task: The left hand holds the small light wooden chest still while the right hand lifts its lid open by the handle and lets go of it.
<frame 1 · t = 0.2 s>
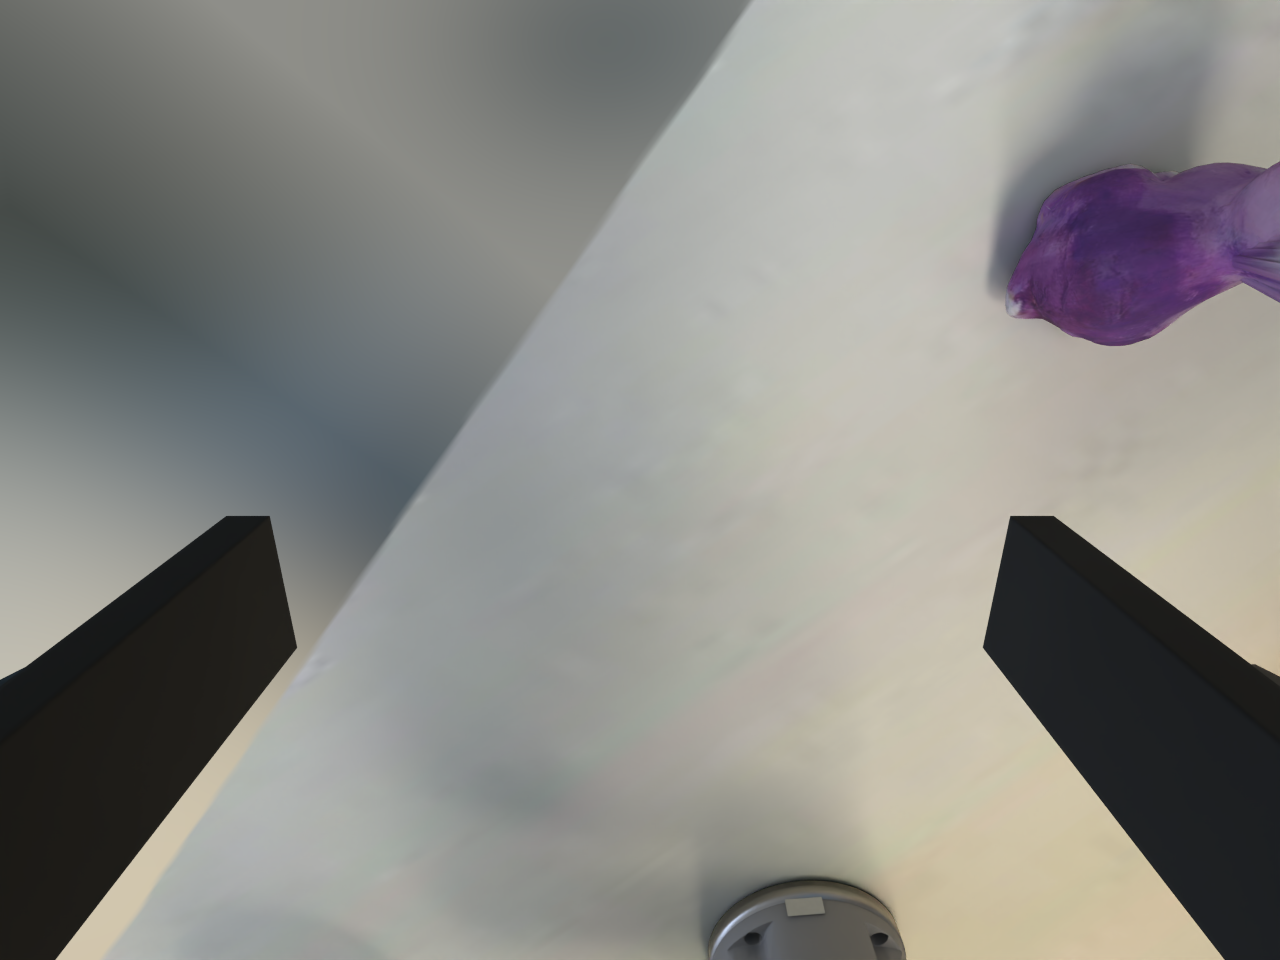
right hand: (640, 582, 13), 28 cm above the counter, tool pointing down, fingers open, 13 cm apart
figurine: (1101, 236, 37), on the counter
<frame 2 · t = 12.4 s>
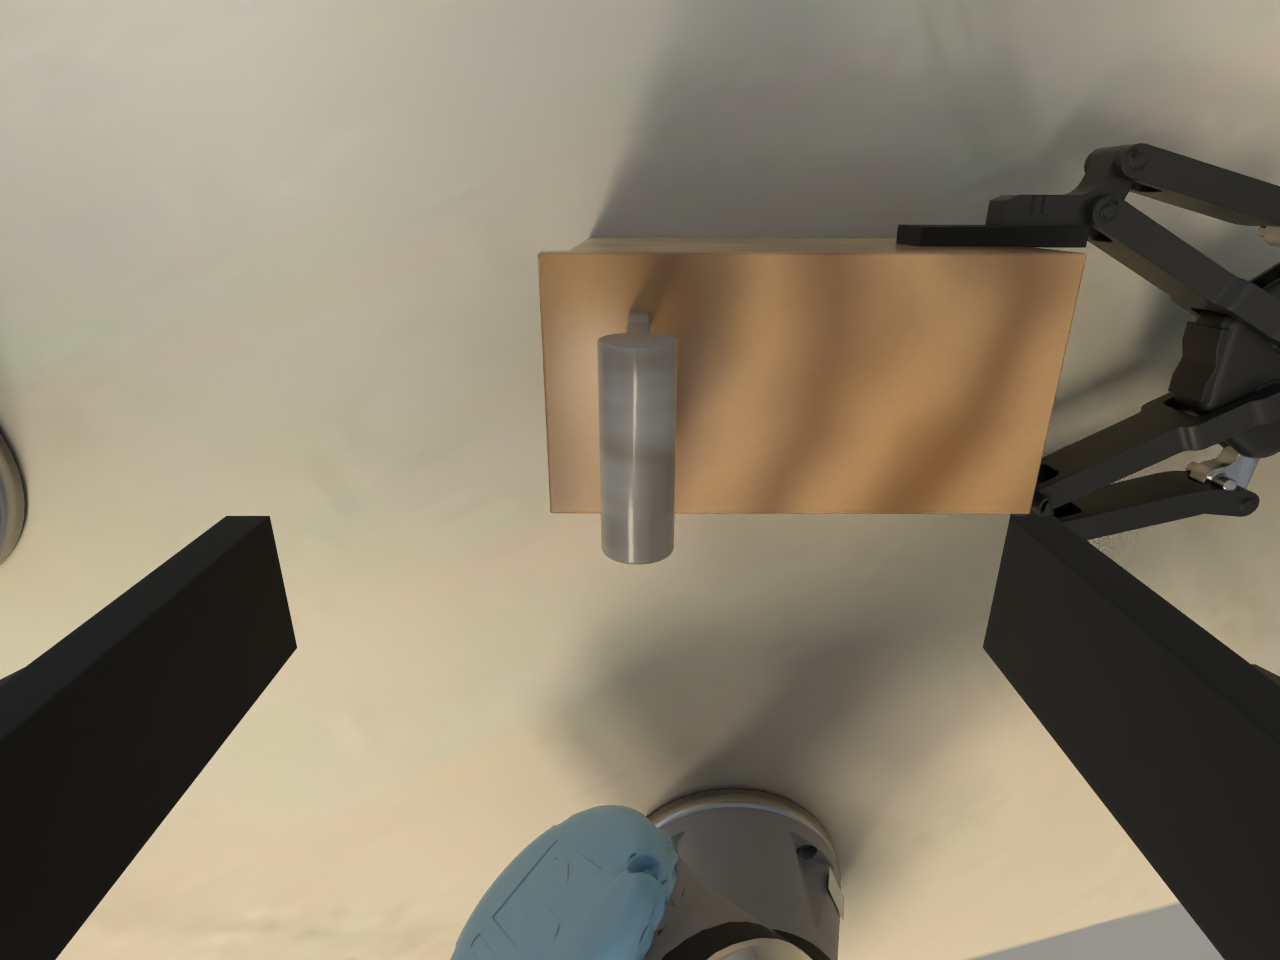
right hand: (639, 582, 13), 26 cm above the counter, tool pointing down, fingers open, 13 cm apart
left hand: (891, 361, 31), fingers closed on chest, 10 cm apart
chest: (759, 334, 37), on the counter, touching left hand
lid: (821, 417, 22), point 15 cm above the counter, hinge at 0.0°
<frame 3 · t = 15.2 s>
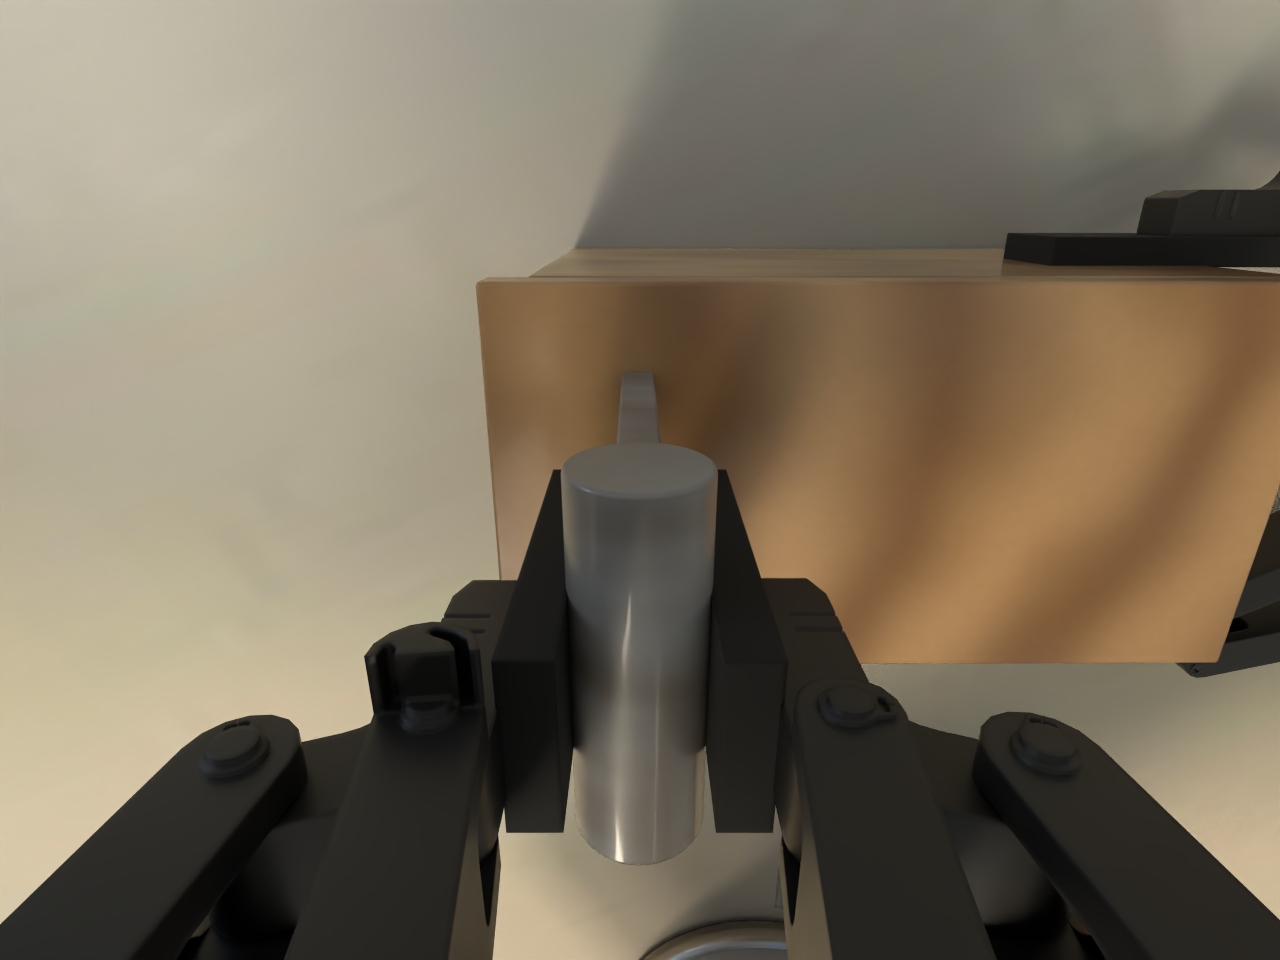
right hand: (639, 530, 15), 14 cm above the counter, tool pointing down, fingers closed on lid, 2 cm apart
chest: (799, 375, 28), on the counter, touching left hand
lid: (942, 556, 14), point 16 cm above the counter, hinge at 0.8°, touching right hand
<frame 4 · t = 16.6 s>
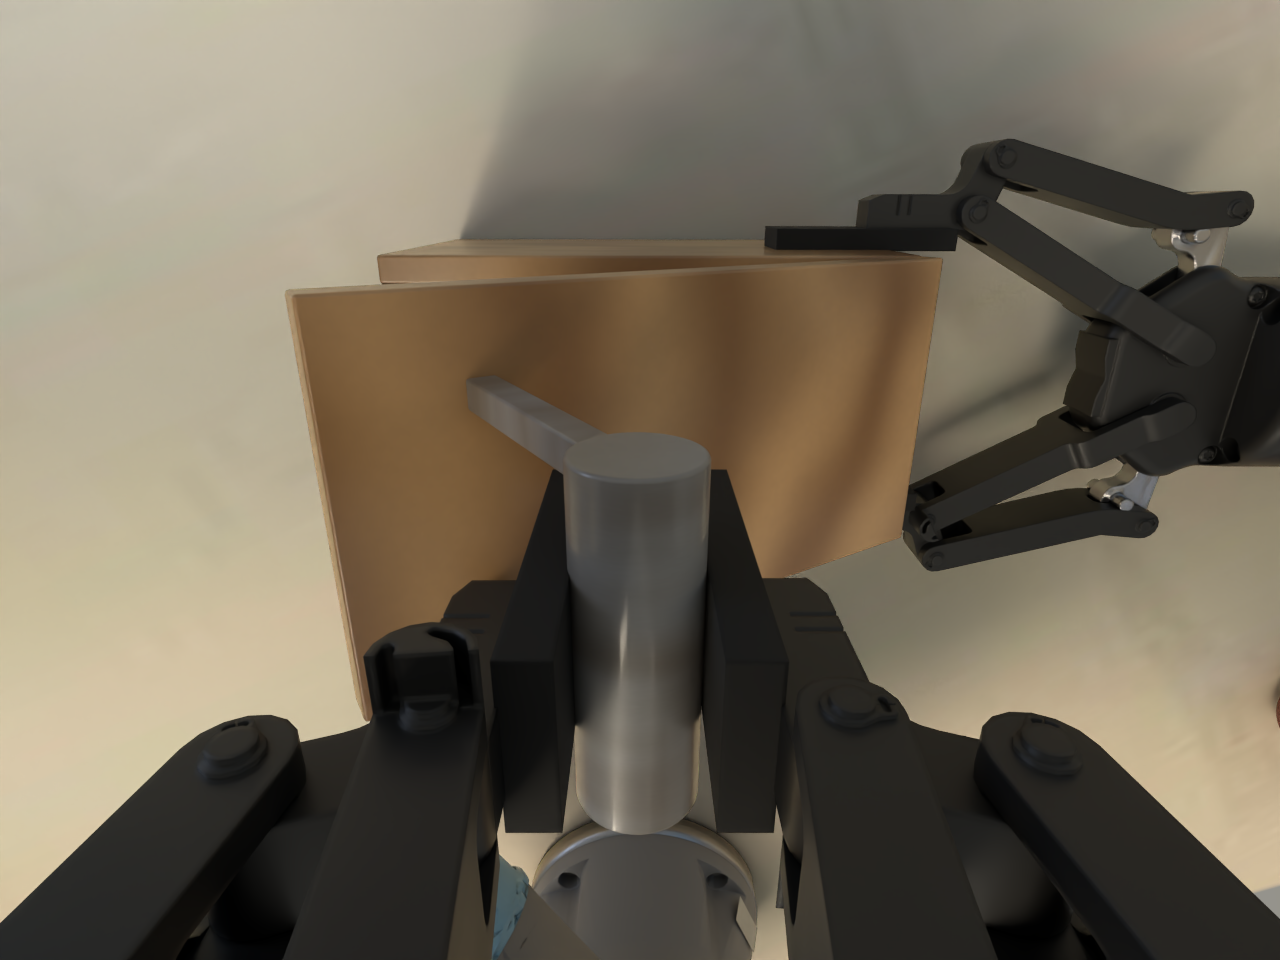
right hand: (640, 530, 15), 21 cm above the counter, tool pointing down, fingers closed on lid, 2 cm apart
left hand: (761, 372, 29), fingers closed on chest, 10 cm apart
chest: (644, 342, 35), on the counter, touching left hand
lid: (778, 495, 16), point 20 cm above the counter, hinge at 31.5°, touching right hand
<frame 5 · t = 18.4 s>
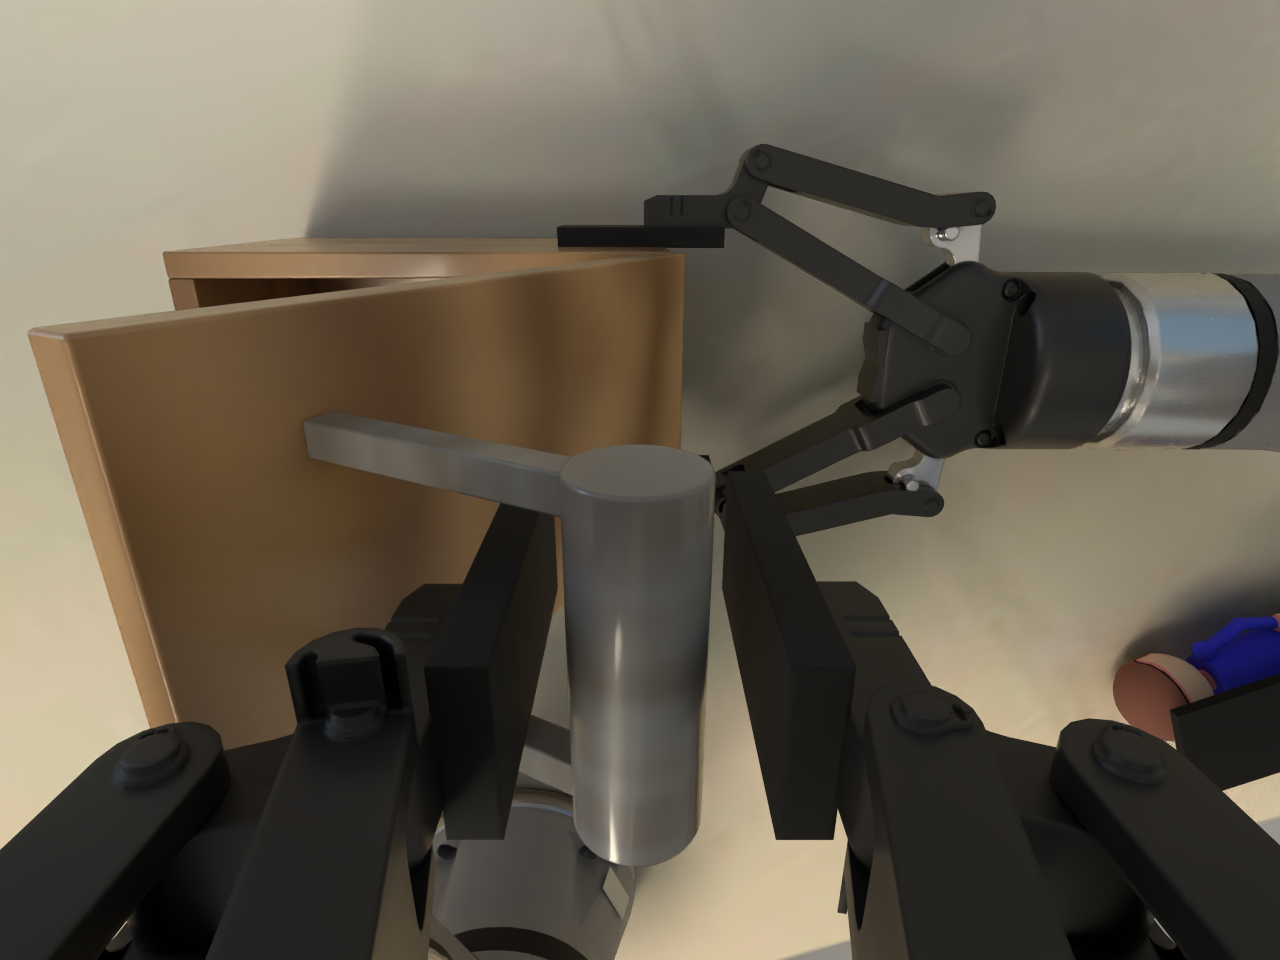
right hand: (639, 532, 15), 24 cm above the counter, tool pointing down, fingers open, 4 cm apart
left hand: (565, 361, 31), fingers closed on chest, 10 cm apart
figurine character: (1218, 642, 44), on the counter
chest: (485, 335, 37), on the counter, touching left hand
lid: (638, 490, 17), point 22 cm above the counter, hinge at 59.9°
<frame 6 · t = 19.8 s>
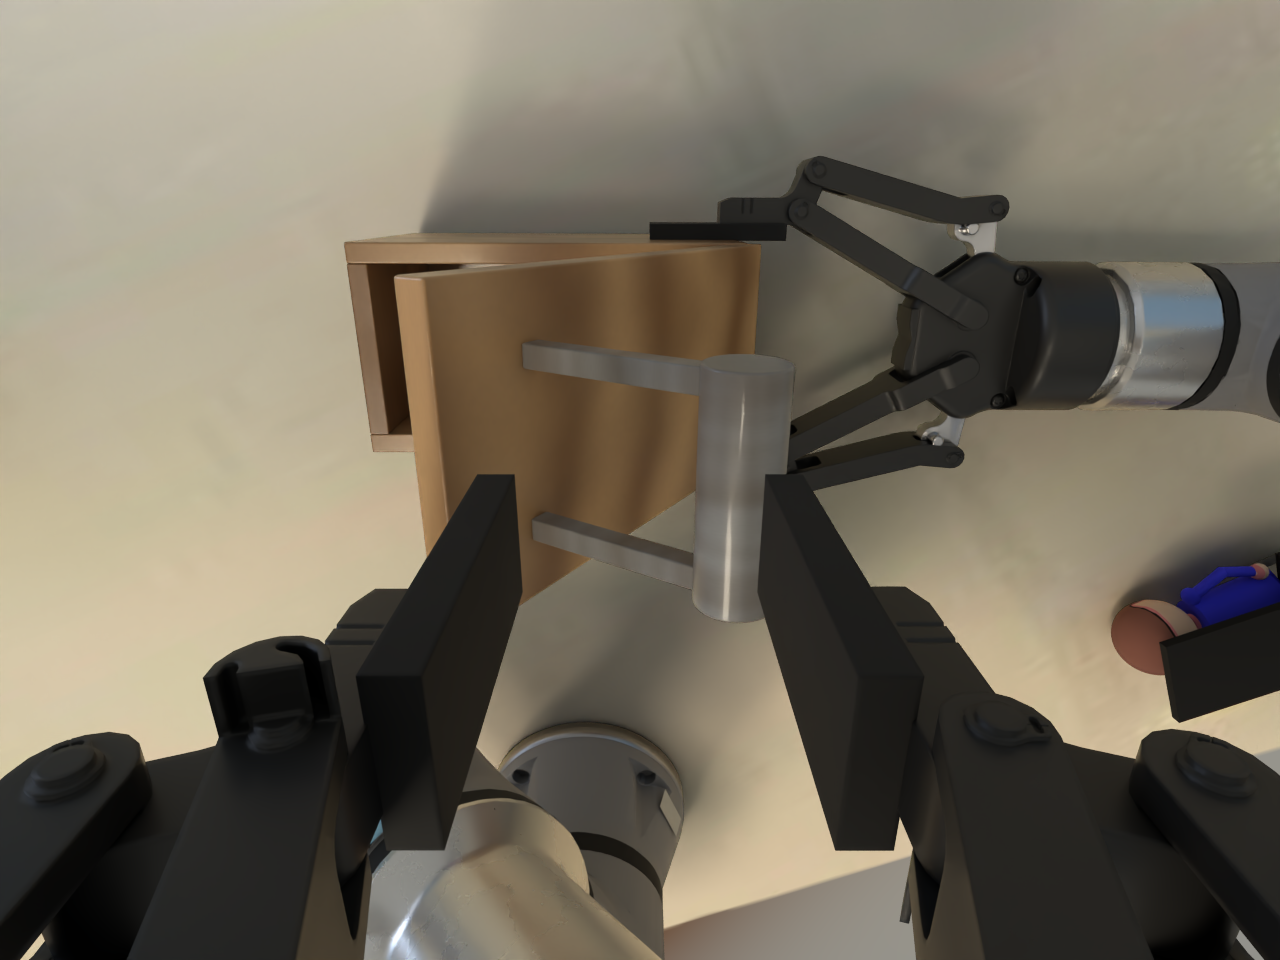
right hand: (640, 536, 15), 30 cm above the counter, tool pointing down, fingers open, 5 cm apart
left hand: (649, 336, 37), fingers closed on chest, 10 cm apart
figurine character: (1204, 591, 50), on the counter
chest: (568, 317, 43), on the counter, touching left hand
lid: (728, 413, 23), point 21 cm above the counter, hinge at 55.9°
when the left hand's fingers open (7 cm above the counter, at t = 22.4 s): chest stays where it is, on the counter.
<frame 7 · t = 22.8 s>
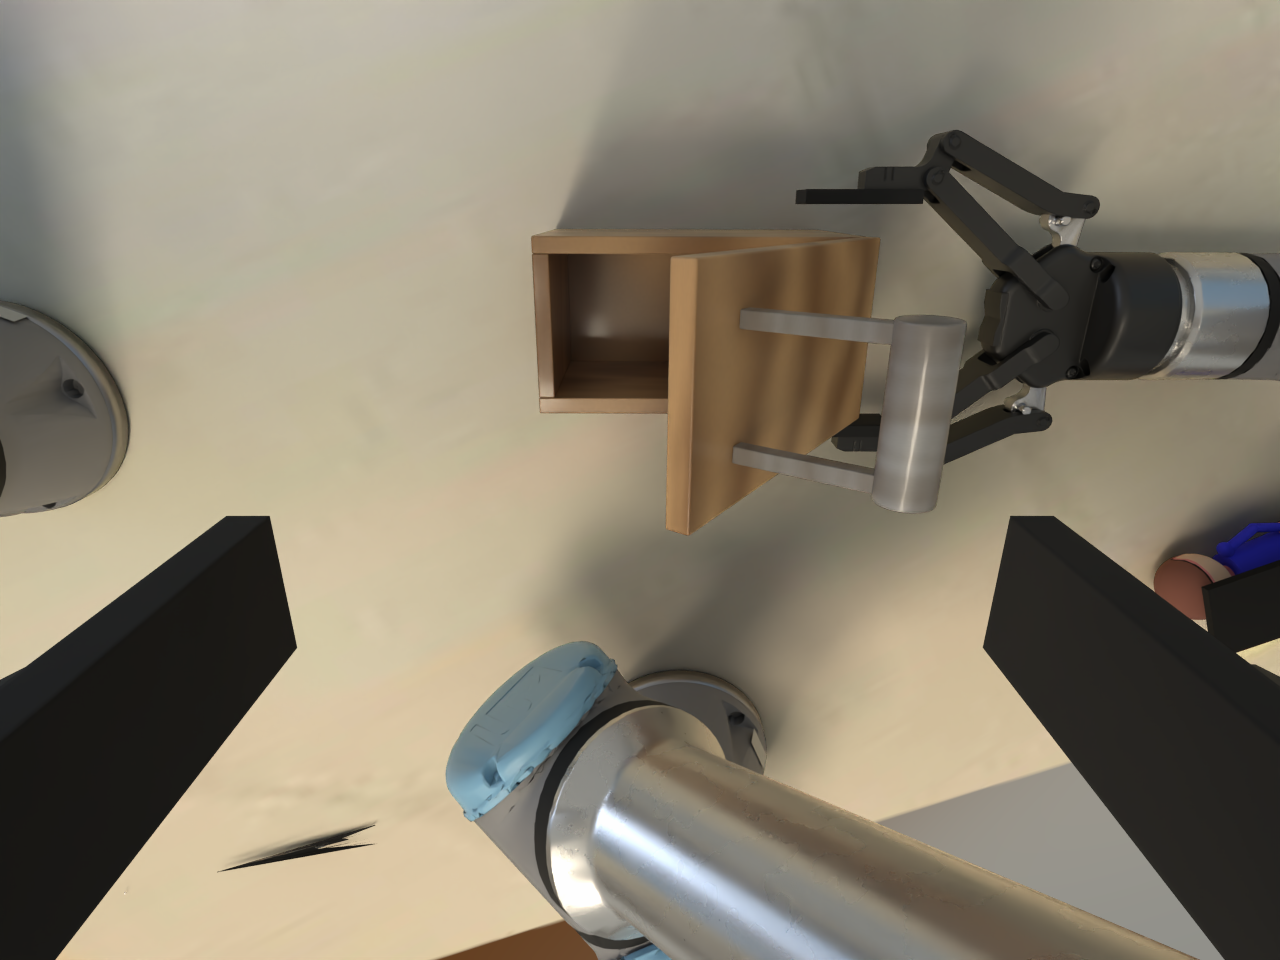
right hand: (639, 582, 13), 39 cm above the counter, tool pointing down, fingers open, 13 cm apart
left hand: (790, 317, 43), fingers open, 13 cm apart
figurine character: (1236, 547, 56), on the counter
chest: (684, 302, 49), on the counter
lid: (874, 370, 29), point 21 cm above the counter, hinge at 55.3°
feather: (252, 858, 68), on the counter
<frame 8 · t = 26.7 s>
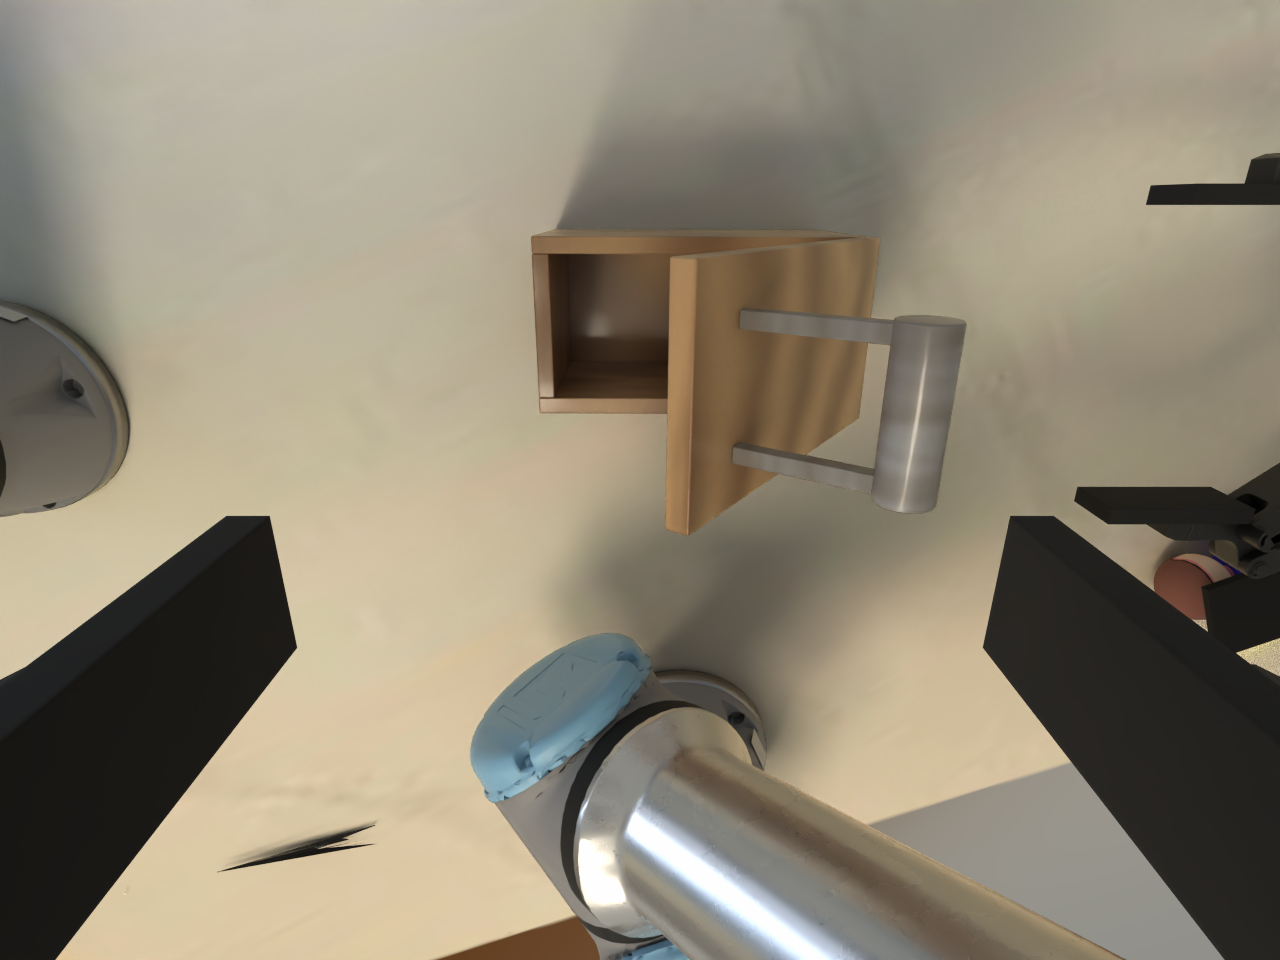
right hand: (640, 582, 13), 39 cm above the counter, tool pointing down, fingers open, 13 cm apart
figurine character: (1236, 547, 56), on the counter
chest: (684, 302, 49), on the counter
lid: (874, 370, 29), point 21 cm above the counter, hinge at 55.3°
feather: (252, 858, 68), on the counter
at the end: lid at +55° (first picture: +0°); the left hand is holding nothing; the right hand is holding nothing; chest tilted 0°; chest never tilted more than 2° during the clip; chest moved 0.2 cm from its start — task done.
